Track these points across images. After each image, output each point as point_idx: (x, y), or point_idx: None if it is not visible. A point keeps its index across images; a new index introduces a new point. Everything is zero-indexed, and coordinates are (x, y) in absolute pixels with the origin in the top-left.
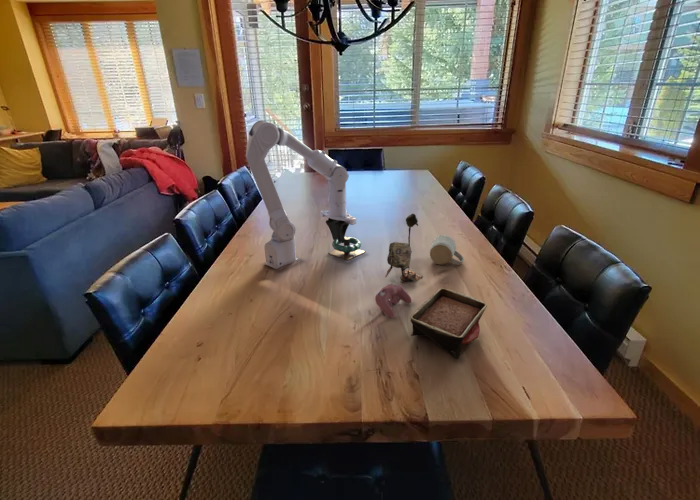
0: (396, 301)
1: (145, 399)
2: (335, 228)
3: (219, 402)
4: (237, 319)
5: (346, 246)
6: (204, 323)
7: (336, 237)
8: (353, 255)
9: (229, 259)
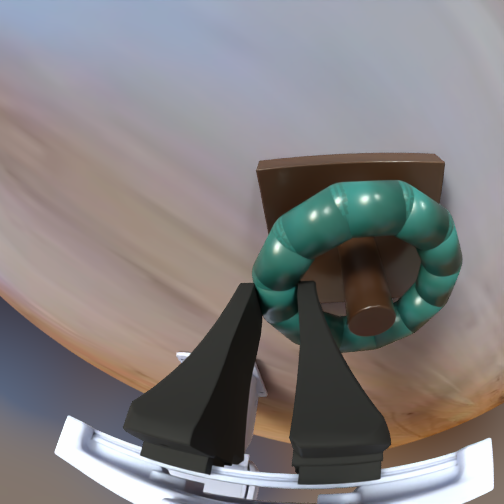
0: None
1: None
2: (240, 383)
3: (418, 437)
4: None
5: (407, 333)
6: None
7: (256, 311)
8: (414, 250)
9: (144, 388)
